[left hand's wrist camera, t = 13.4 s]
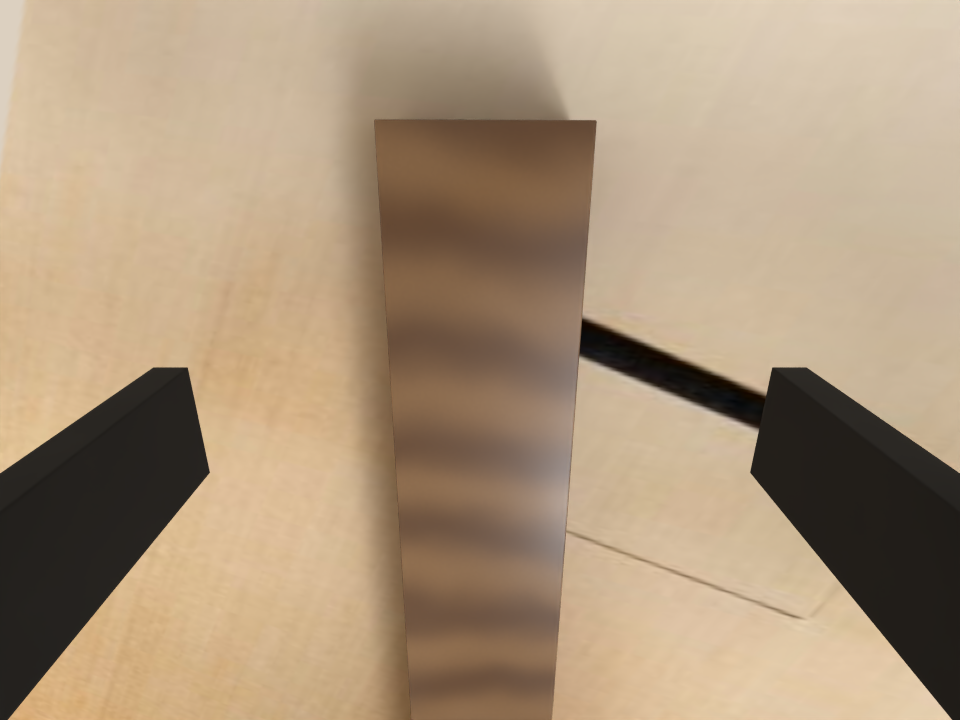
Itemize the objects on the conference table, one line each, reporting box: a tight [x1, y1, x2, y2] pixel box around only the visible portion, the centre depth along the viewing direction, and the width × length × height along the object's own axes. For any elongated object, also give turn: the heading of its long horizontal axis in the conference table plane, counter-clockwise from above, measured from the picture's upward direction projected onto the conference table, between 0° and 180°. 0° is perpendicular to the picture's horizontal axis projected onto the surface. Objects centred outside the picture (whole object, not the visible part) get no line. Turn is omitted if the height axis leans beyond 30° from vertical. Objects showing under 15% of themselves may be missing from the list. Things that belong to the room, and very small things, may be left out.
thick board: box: [374, 120, 597, 720], centre depth 43 cm, size 82×10×7 cm, turn 0°
